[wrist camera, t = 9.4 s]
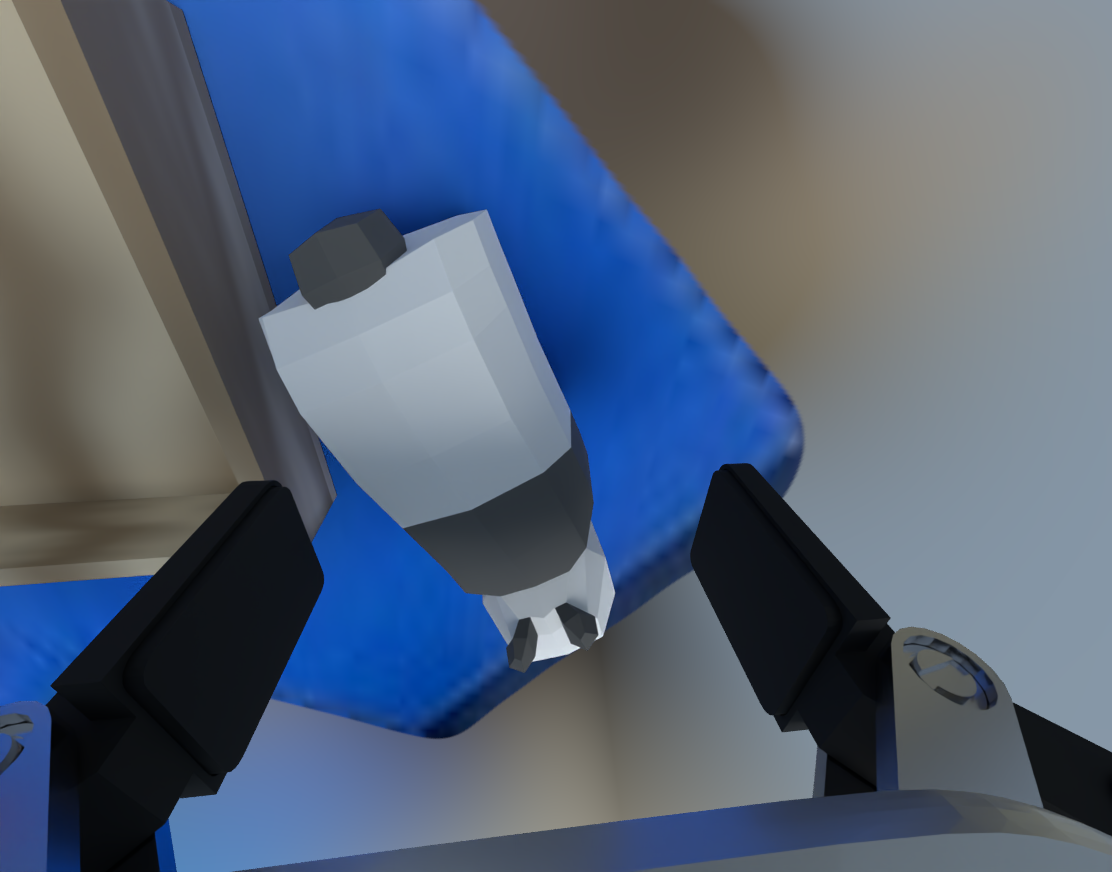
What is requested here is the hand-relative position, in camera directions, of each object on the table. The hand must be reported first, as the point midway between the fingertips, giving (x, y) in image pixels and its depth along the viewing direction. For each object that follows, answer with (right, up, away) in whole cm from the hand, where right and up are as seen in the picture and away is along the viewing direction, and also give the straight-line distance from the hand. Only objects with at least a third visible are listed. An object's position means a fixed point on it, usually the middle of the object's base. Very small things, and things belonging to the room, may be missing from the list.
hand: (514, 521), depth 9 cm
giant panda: (-2, +4, +7) cm, 9 cm away
